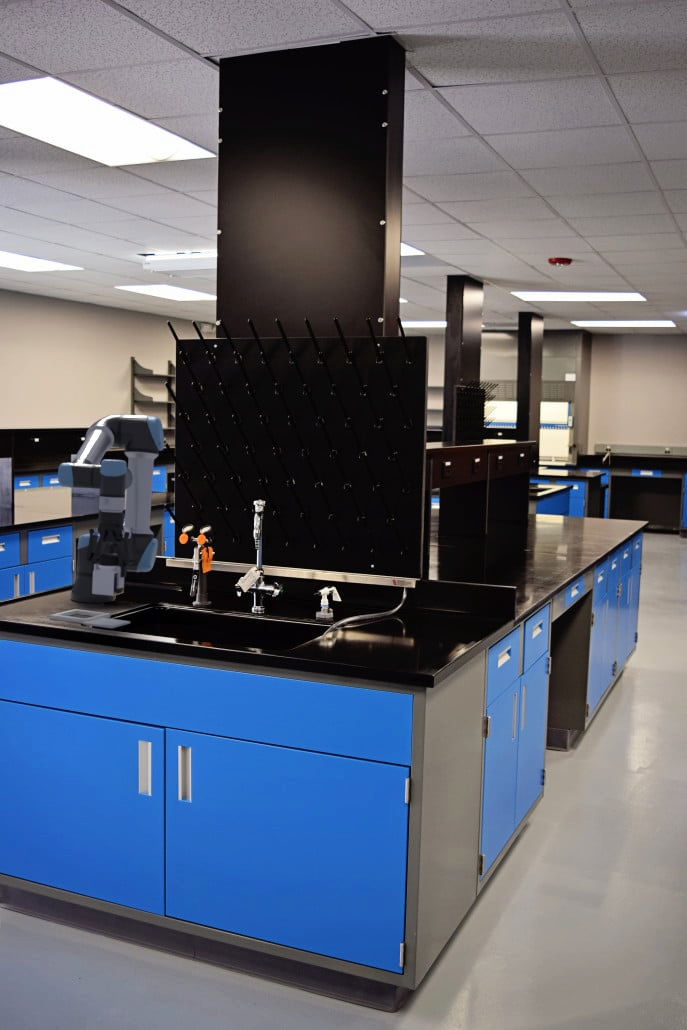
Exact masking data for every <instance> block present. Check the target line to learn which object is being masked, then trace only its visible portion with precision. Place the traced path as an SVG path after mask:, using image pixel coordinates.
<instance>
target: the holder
mask: <svg viewBox="0 0 687 1030" xmlns="http://www.w3.org/2000/svg"><path fill="white" fill-rule="evenodd" d="M73 615H81V616H82V615H83V616H89V617H86V618H83V617H76V616H73ZM111 616H112V614H111V612H110V613H108V612H102V611H93V610H85V609H77V608H73V609H70V610H65V611H62V612H56V613H53V614H50V615H49V619H50V620H56V621H63V622H64V621H65V622H69V623H70V622H71V623H79V624H83V622H87V621H91V620H95V619H99V618H109V619H111Z"/></svg>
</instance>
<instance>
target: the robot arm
mask: <svg viewBox="0 0 687 1030" xmlns="http://www.w3.org/2000/svg"><path fill="white" fill-rule="evenodd" d="M163 428H164V427H163V423H162V421H161V419H160V418H159V417H157V416H152V415H143V414H142V415H141V414H140V415H138V414H137V415H136V414H135V415H134V414H121V413H119V414H117V413H116V414H110V415H106V416H104V417H102V418H99V419H98V420H97V421H95V422H94V423H93V424H91V425H90V426H89V428H88V429H87V431H86V434H85V440H84V442H83V444H82V445H81V446H80V448H79V450H78V452H77V454H76V455H75V457H74V458H73V460H72V462H62V463H60V464H59V465H58V471H57V480H58V483H59V485H60V486H61V487H66V488H71V489H72V488H73V489H74V488H75V489H76V488H77V489H78V488H79V489H97V490H99V501H98V502H99V503H98V509H99V510H100V511H99V512H98V518H97V519H98V527H97V528H95V527H94V528H89V533H85V534H82V535H80V536H79V538H78V543H77V548H76V549H77V558H76V559H77V561H76V578H75V581H74V584H73V586H72V588H71V592H70V600H72V601H74V602H79V603H80V602H81V603H90V604H91V603H94V604H95V603H97V604H98V603H99V604H100V603H111V602H114V601H116V600H115V599H116V596H117V595H115V596H109V595H98V594H92V584H93V571H94V570H98V569H100V567H99V556H100V555H102V554H117V557H118V560H119V563H120V565H119V567H118V569H117V588H124V589H125V578H126V577H127V574H128V573H127V572H136V573H140V572H141V573H142V572H143V573H146V572H150V571H151V570H152V569H153V567H154V565H155V562H156V558H157V554H158V549H159V547H158V545H159V541H158V539H157V538H154V536H155V534H154V532H153V531H152V530H151V529H150V528H151V527H150V525H151V514H152V513H151V510H152V495H153V493H152V492H153V478H154V477H153V476H154V464H155V459H157V457H159V455H160V454H159V453H160V452H159V451H163V450H164V448H165V447H164V446H165V445H164V444H165V435H164V429H163ZM111 448H114V449H115V448H118V449H124V455H125V456H126V457H127V458H128V463H127V462H126V461H125V460H122V459H106V458H105V459H103V458H104V455H105V454H106V453H107V451H109V450H111ZM102 459H103V460H102ZM100 462H101V464H100ZM123 511H124V512H125V513H124V512H123ZM110 601H111V602H110Z"/></svg>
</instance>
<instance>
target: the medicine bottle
mask: <svg viewBox="0 0 687 1030" xmlns="http://www.w3.org/2000/svg"><path fill="white" fill-rule="evenodd" d="M119 565H120V563H119V560H118V557H117V554H102V555H100V556H99V567H100V569H98V570H94V571H93V584H92V594H98V595H109V596H115V595H116V596H118V595H120V594H123V593H124V590H125V587H124V588H117V569H118V567H119Z"/></svg>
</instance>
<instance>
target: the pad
mask: <svg viewBox="0 0 687 1030" xmlns="http://www.w3.org/2000/svg"><path fill="white" fill-rule="evenodd" d="M82 624H83V625H84V626H85V625H86V626H89V627H90V626H92V627H98V628H105V629H114V628H115V629H116V628H118V627H122V626H126V625H130V624H131V621H130V620H122V619H115V618H99V619H95V620H91V621H87V622H83V623H82Z"/></svg>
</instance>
